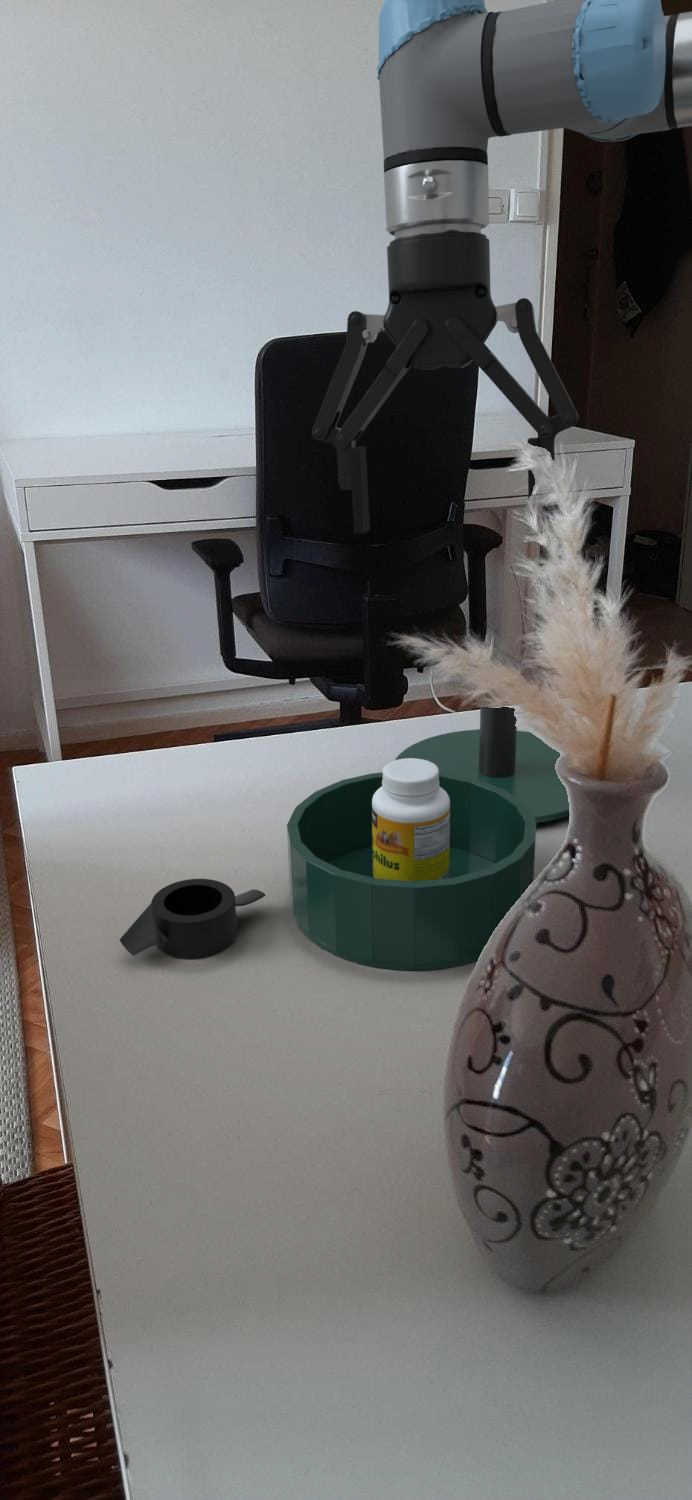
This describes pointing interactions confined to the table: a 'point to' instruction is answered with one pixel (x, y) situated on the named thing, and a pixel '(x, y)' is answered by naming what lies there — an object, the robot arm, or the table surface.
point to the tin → (407, 914)
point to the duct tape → (189, 919)
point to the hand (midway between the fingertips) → (447, 529)
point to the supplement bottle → (411, 823)
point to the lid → (500, 761)
